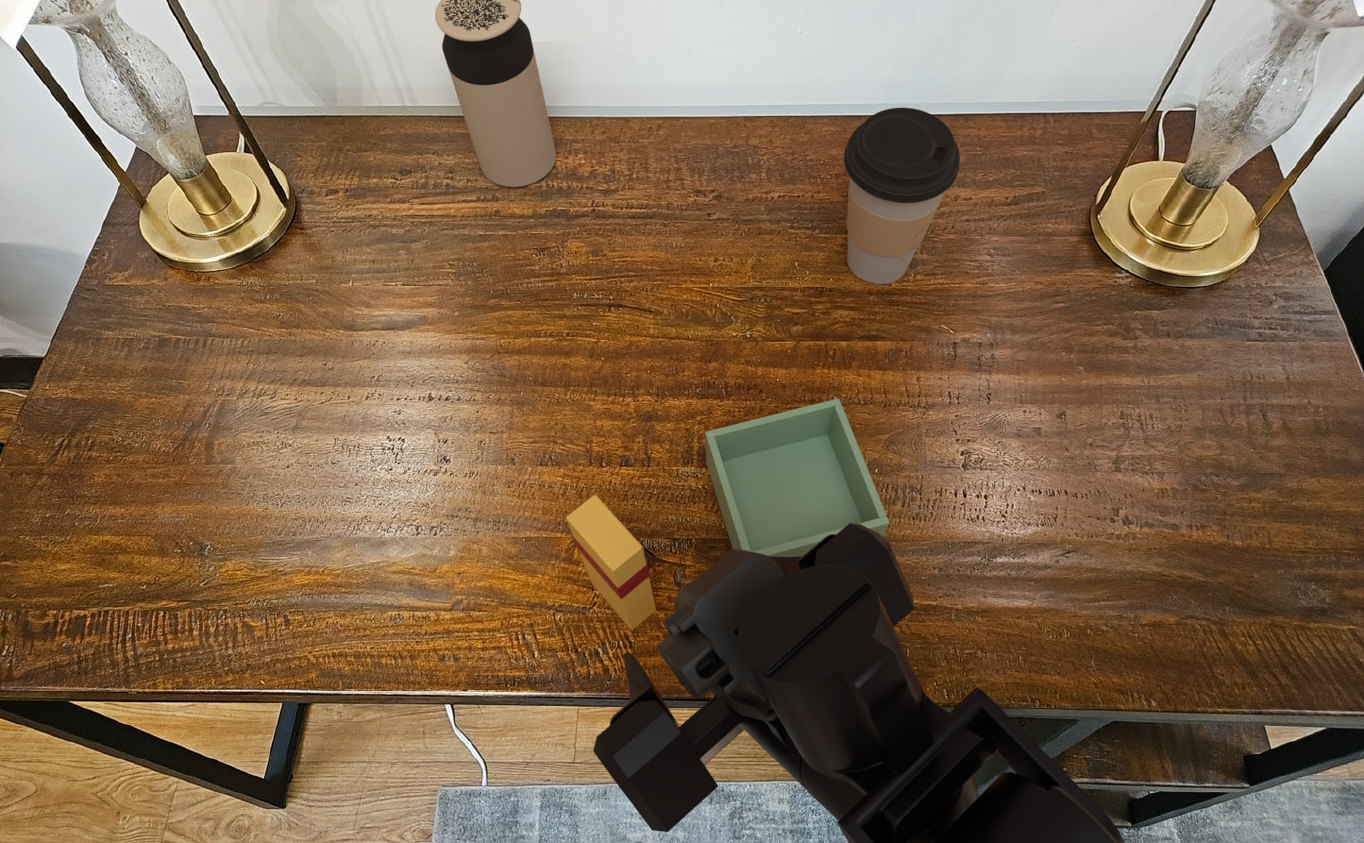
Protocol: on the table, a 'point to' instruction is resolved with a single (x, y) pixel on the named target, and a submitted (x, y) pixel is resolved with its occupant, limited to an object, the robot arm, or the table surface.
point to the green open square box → (791, 480)
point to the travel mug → (498, 88)
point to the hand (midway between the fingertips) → (687, 608)
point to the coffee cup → (895, 188)
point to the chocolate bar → (613, 561)
